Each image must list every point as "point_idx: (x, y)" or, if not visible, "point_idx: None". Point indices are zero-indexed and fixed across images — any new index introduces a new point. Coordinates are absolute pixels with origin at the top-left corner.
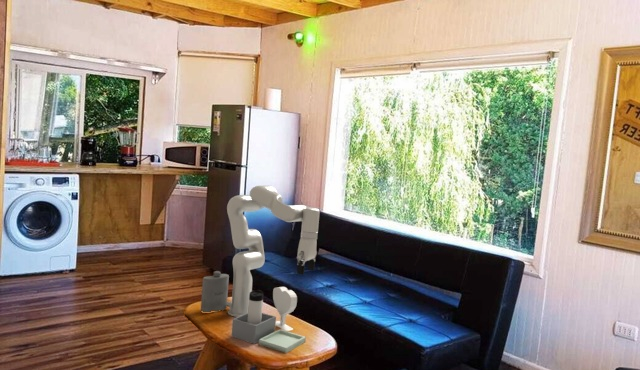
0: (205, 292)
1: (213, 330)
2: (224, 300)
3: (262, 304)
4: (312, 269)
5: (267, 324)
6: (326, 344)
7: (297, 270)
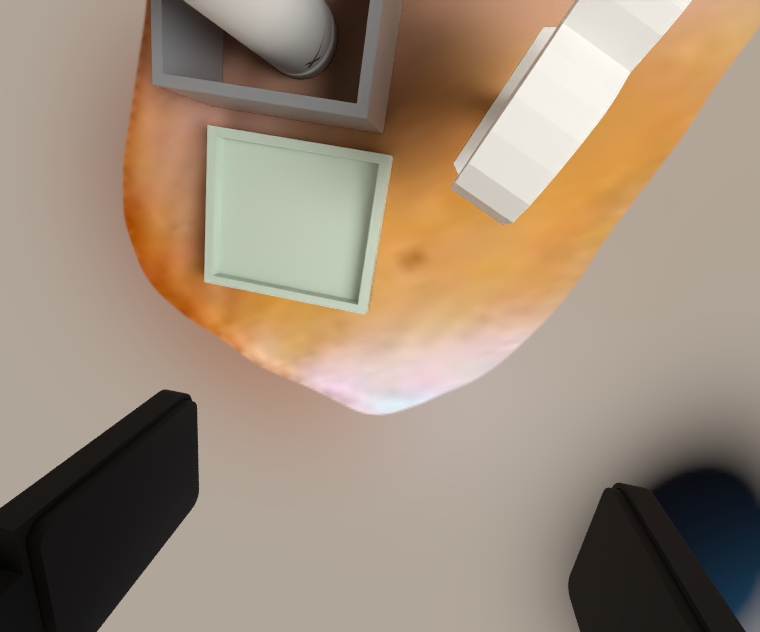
0: None
1: None
2: None
3: (223, 3)
4: (577, 592)
5: (283, 108)
6: (389, 393)
7: (125, 420)
